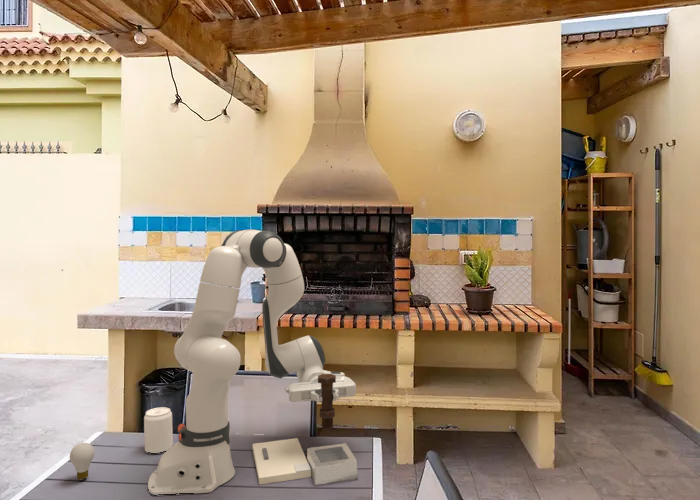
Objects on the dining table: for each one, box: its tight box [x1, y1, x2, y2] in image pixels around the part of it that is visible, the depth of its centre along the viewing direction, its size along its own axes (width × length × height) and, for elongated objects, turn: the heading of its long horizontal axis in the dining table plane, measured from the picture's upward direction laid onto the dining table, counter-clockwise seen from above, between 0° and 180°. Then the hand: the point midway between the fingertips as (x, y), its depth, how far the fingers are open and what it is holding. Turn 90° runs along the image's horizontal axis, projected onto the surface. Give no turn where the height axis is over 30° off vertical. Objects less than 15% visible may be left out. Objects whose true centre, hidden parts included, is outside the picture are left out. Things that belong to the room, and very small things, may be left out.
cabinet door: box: [252, 437, 312, 486], centre depth 140 cm, size 14×22×3 cm, turn 16°
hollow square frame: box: [306, 442, 358, 486], centre depth 133 cm, size 12×12×5 cm
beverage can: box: [143, 406, 174, 454], centre depth 149 cm, size 8×8×12 cm
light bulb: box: [69, 442, 95, 480], centre depth 131 cm, size 6×6×10 cm
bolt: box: [318, 374, 336, 431], centre depth 137 cm, size 6×5×15 cm
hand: (327, 398), depth 136 cm, fingers closed on bolt, 3 cm apart
